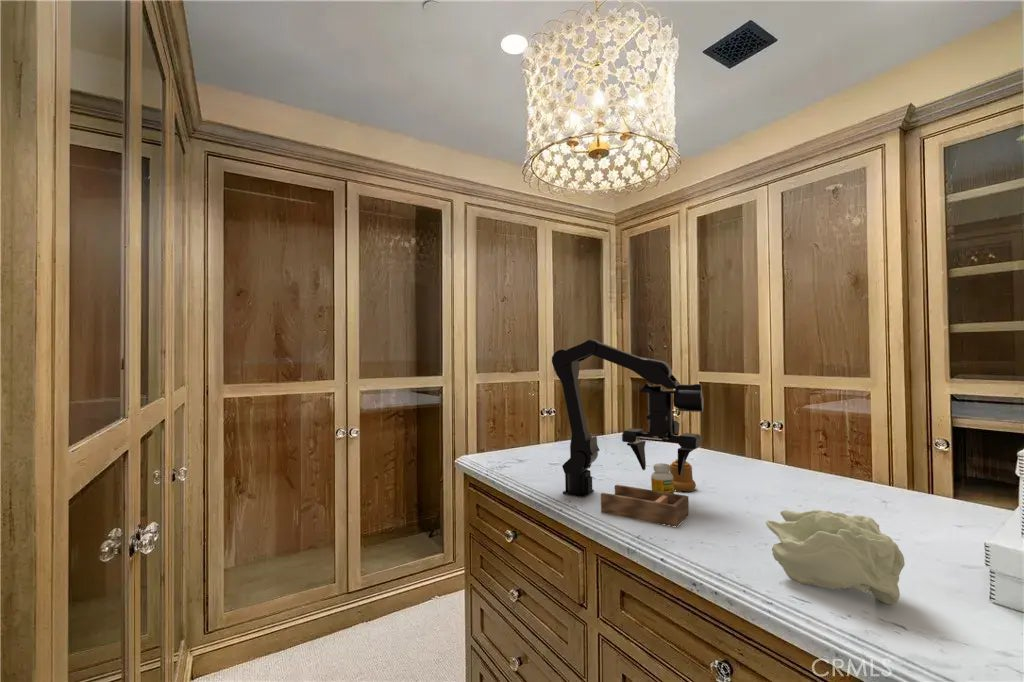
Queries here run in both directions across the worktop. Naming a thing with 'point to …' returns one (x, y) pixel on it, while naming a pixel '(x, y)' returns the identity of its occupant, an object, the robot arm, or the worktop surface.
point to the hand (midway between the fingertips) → (661, 472)
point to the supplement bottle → (662, 478)
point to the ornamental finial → (682, 477)
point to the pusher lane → (645, 505)
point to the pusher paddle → (662, 499)
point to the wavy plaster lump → (838, 552)
